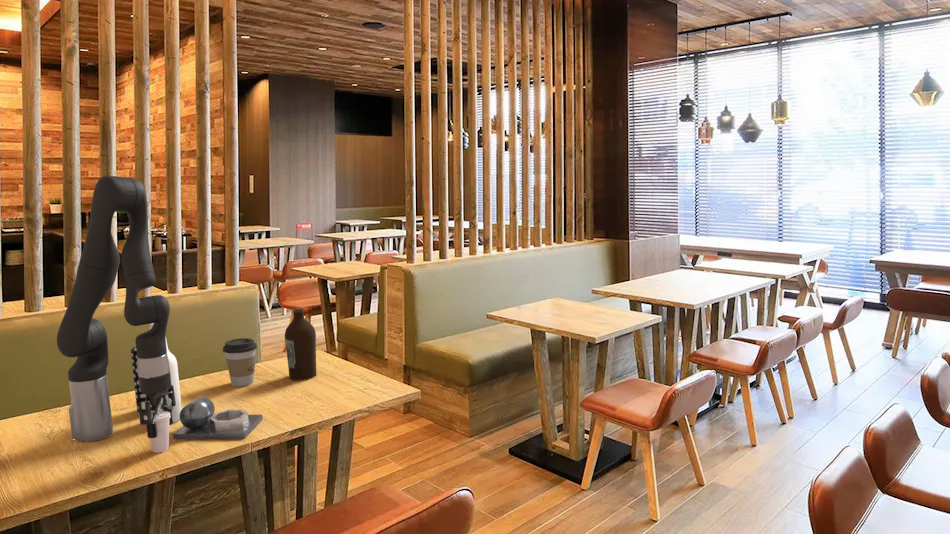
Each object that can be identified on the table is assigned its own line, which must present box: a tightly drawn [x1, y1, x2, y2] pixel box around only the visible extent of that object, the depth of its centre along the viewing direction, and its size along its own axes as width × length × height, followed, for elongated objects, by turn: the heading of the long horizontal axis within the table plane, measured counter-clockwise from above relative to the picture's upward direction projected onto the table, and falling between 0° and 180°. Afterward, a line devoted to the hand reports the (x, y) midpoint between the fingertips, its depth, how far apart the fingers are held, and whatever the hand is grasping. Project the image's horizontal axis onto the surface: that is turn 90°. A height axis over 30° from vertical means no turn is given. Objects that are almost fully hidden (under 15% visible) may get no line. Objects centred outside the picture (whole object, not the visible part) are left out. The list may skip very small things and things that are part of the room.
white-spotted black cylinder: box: [130, 346, 146, 415], centre depth 204 cm, size 8×8×20 cm
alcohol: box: [148, 323, 183, 424], centre depth 194 cm, size 9×9×30 cm
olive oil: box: [284, 306, 317, 381], centre depth 234 cm, size 11×11×25 cm
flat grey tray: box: [172, 396, 264, 440], centre depth 188 cm, size 20×14×8 cm
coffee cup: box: [222, 337, 258, 388], centre depth 229 cm, size 11×11×15 cm
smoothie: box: [144, 411, 171, 454], centre depth 174 cm, size 6×6×14 cm
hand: (160, 431), depth 175 cm, fingers open, 8 cm apart
